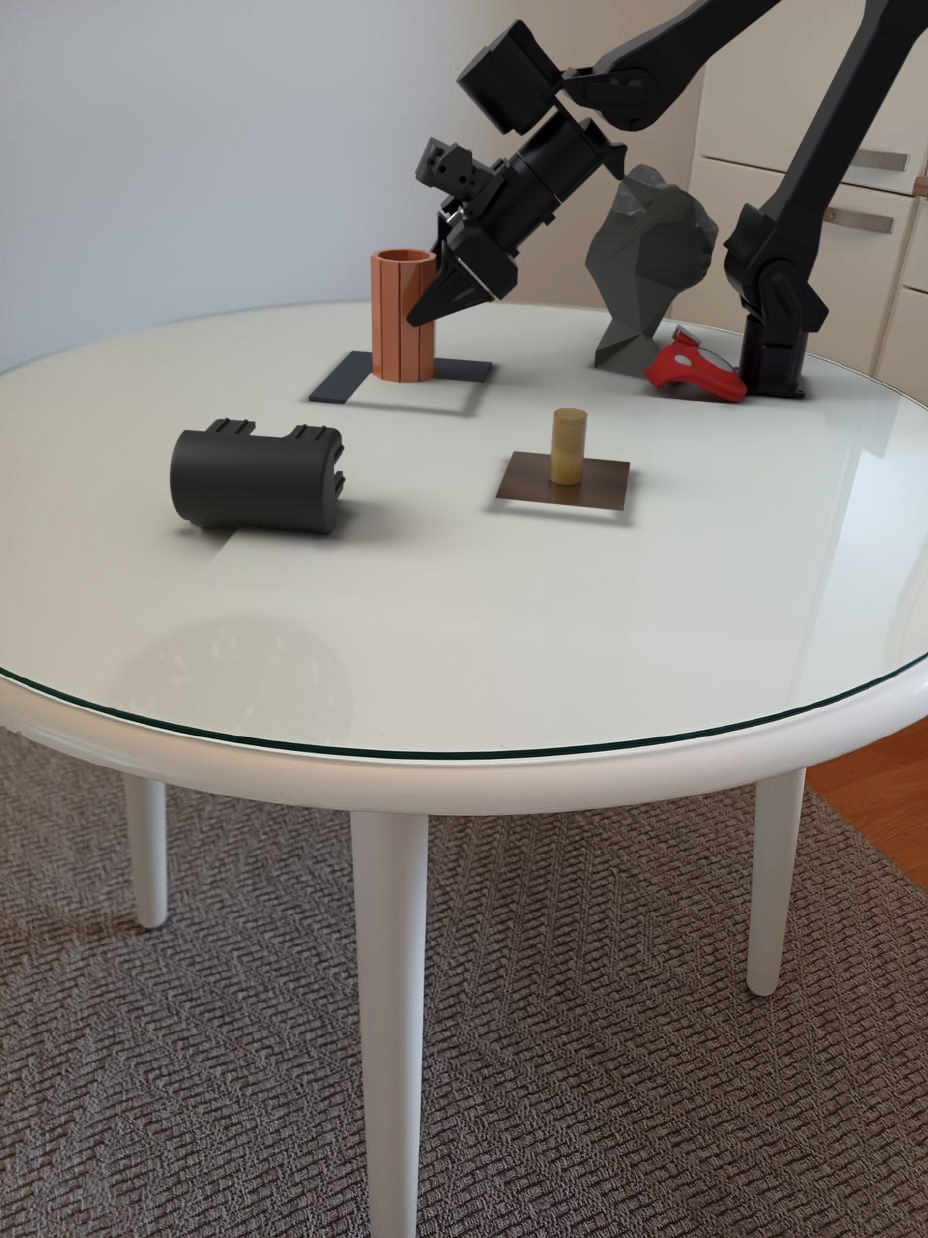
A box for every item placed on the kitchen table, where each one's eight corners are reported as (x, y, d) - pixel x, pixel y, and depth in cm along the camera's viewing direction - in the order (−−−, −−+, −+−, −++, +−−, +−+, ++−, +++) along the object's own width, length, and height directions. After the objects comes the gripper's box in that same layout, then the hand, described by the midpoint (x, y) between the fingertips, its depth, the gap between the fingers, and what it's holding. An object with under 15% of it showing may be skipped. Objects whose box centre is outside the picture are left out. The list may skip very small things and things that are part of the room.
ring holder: (512, 462, 84) (516, 387, 81) (629, 473, 83) (637, 398, 80) (494, 510, 77) (497, 429, 74) (622, 523, 75) (631, 441, 72)
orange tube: (415, 365, 103) (416, 245, 98) (446, 383, 99) (448, 258, 93) (362, 373, 101) (360, 251, 95) (392, 392, 96) (391, 265, 91)
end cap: (175, 544, 71) (163, 446, 67) (213, 500, 77) (203, 408, 73) (324, 558, 70) (320, 459, 66) (351, 512, 76) (348, 419, 72)
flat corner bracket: (352, 354, 107) (352, 350, 107) (492, 366, 105) (492, 361, 105) (308, 400, 95) (308, 396, 95) (465, 414, 93) (465, 410, 93)
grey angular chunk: (730, 346, 113) (760, 160, 104) (672, 384, 102) (699, 179, 93) (607, 322, 119) (624, 145, 110) (539, 356, 108) (552, 161, 99)
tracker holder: (773, 389, 98) (705, 372, 92) (745, 430, 101) (676, 416, 94) (694, 320, 105) (625, 299, 99) (669, 359, 108) (601, 341, 101)
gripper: (467, 91, 96) (346, 220, 101) (480, 115, 80) (336, 266, 85) (550, 187, 101) (430, 306, 106) (578, 227, 85) (436, 365, 90)
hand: (409, 308), depth 97 cm, fingers open, 9 cm apart
